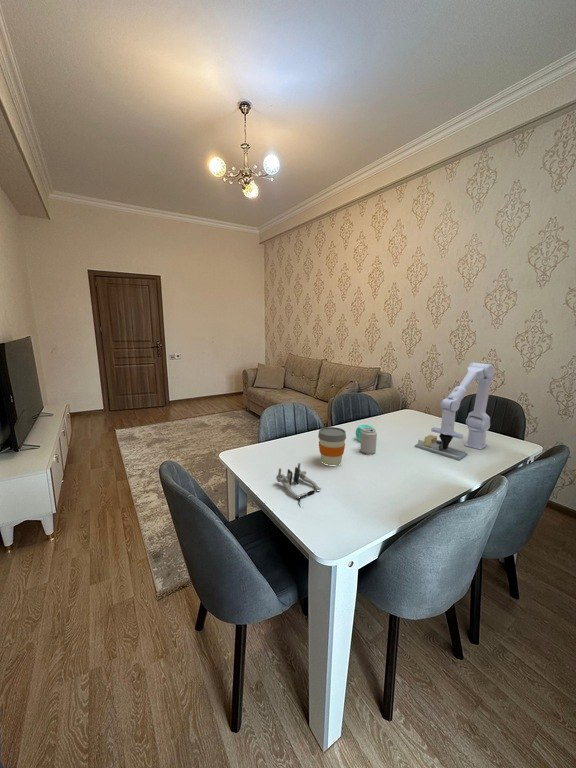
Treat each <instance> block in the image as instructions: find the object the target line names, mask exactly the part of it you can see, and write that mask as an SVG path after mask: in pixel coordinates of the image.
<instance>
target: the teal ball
mask: <svg viewBox="0 0 576 768" xmlns="http://www.w3.org/2000/svg"><path fill="white" fill-rule="evenodd" d="M367 427H368V428H374V429H375V427H374V426H373V425H370V424H360V425H359V426H357V428H356V430H355V438H356V439H357V440H358V442H359V441H360V442H359V443H361V431H362V430H363V428H367Z"/></svg>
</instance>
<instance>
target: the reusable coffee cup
mask: <svg viewBox="0 0 576 768" xmlns="http://www.w3.org/2000/svg"><path fill="white" fill-rule="evenodd" d="M318 430H319V431H318V434H317V435H318V436H317V438H318V449H319V453H320V460H321V463H322V462H323V463H325V464H328V465H339V464H340V463H341V464H342V459H343V455H344V453H345V448H346V447H345V446H346V439H347V434H346V430H345V429H343V428H340V427H335V426H327V427H326V426H325V427H321V428H320V429H318ZM323 463H322V464H323ZM341 464H340V465H341ZM340 465H339V466H340Z"/></svg>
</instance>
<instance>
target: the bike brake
mask: <svg viewBox="0 0 576 768" xmlns="http://www.w3.org/2000/svg"><path fill="white" fill-rule="evenodd" d="M286 473H287V474H286V475H285V474H284V473H282V468H281V467H279V468H278V474H277V475H276V477H275V478H276V481H277V483H281V484H282V485H283V487H284V488H285V489H286V491H287V492H288V493H289V495H291V496H292V497H293V498H294V499H296V498H297V499H299V500H298V503H299V502H300V503H301V500H302V499H303V498H302V497H303V496H304V497H305V496H307V497H308V496H311V495H312V493H313V494H314V493H316V492H317V490H320V491H321V489H322V487H320V486H318V485H317V483H316V482H315V481H313V480H312V479H311V478H309V477H308V476H306V475H307V471H306V470H305V471H304V470H303V471H302V470H301V462H298V463H297V466H295V468H294V474H293V472H292V470H291V469H290V468H288V469H287V472H286ZM299 479H301V480H302V481H304V482H306V483H308V484H310V485H311V486H312V487H313V488H315V489H312V490H310V491H309V490H308V492H303V493H300V494H297V493H296V492H294V491H293V490H292V488H291V486H292V484H293V483H292V482H294V483H295V482H296V483H298V484H299ZM292 480H293V481H292ZM296 483H295V484H296ZM290 485H291V486H290ZM310 494H311V495H310ZM299 497H300V498H299ZM301 498H302V499H301ZM297 499H296V500H297Z"/></svg>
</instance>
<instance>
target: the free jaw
mask: <svg viewBox="0 0 576 768" xmlns="http://www.w3.org/2000/svg"><path fill="white" fill-rule="evenodd" d="M431 448H432V449H435V450H438V451H439V450H441V449H443V445H442V441H441V439H437V440H436V441H434V442H432V443H431Z"/></svg>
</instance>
